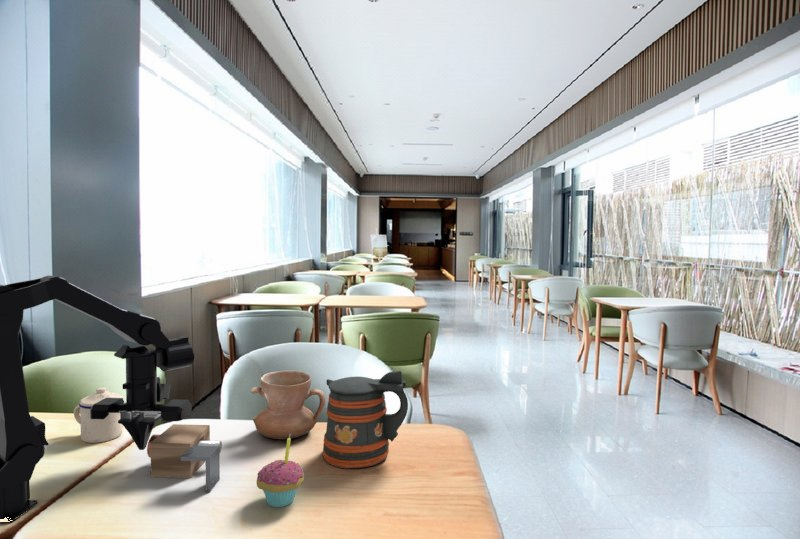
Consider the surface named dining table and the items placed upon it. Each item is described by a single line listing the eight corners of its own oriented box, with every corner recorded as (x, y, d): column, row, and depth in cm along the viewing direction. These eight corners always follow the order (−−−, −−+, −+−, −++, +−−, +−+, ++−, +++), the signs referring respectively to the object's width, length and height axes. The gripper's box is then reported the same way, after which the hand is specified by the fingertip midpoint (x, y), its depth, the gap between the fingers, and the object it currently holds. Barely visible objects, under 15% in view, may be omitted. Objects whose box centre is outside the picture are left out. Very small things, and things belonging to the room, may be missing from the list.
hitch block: (190, 477, 102) (190, 443, 102) (150, 476, 102) (150, 442, 102) (209, 456, 112) (209, 425, 112) (173, 455, 112) (173, 424, 112)
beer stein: (411, 445, 119) (413, 361, 118) (402, 474, 105) (404, 379, 104) (333, 439, 122) (334, 357, 121) (313, 466, 108) (314, 373, 107)
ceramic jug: (242, 444, 118) (243, 384, 117) (258, 421, 133) (259, 367, 132) (320, 446, 119) (321, 387, 118) (327, 423, 133) (329, 369, 132)
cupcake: (285, 484, 100) (285, 424, 99) (314, 499, 94) (314, 436, 94) (247, 502, 93) (246, 438, 92) (275, 519, 88) (276, 451, 87)
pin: (215, 462, 105) (215, 441, 104) (147, 461, 105) (146, 439, 104) (223, 453, 109) (223, 432, 109) (158, 452, 109) (157, 431, 109)
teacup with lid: (132, 430, 126) (131, 384, 125) (104, 445, 117) (103, 395, 116) (90, 426, 128) (89, 380, 127) (59, 440, 119) (58, 391, 118)
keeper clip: (210, 491, 96) (209, 457, 96) (181, 491, 96) (180, 456, 96) (219, 479, 101) (219, 446, 101) (192, 478, 101) (191, 445, 101)
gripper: (201, 367, 114) (202, 435, 115) (118, 364, 114) (119, 433, 115) (179, 381, 103) (180, 456, 104) (87, 378, 103) (89, 454, 104)
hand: (142, 449), depth 107 cm, fingers closed
